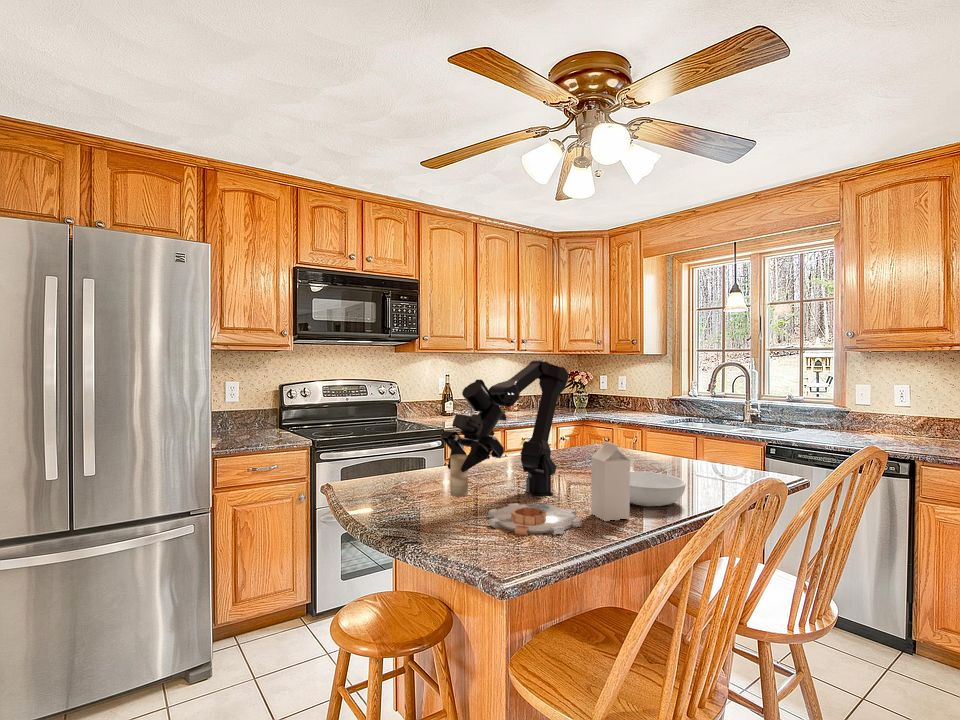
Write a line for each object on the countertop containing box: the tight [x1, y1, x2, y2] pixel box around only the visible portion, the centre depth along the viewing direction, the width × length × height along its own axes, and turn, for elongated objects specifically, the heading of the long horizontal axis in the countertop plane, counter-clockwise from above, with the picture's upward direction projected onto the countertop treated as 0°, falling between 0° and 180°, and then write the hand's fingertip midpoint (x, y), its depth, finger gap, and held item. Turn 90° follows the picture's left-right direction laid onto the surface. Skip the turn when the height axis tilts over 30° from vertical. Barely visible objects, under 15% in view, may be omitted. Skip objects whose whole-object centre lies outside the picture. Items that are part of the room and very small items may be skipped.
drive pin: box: [449, 454, 469, 498], centre depth 140 cm, size 4×4×10 cm
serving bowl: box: [630, 471, 687, 507], centre depth 154 cm, size 21×21×7 cm
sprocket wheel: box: [487, 502, 583, 536], centre depth 136 cm, size 23×23×4 cm
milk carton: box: [590, 440, 631, 522], centre depth 139 cm, size 7×7×19 cm
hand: (455, 469), depth 139 cm, fingers closed on drive pin, 4 cm apart
